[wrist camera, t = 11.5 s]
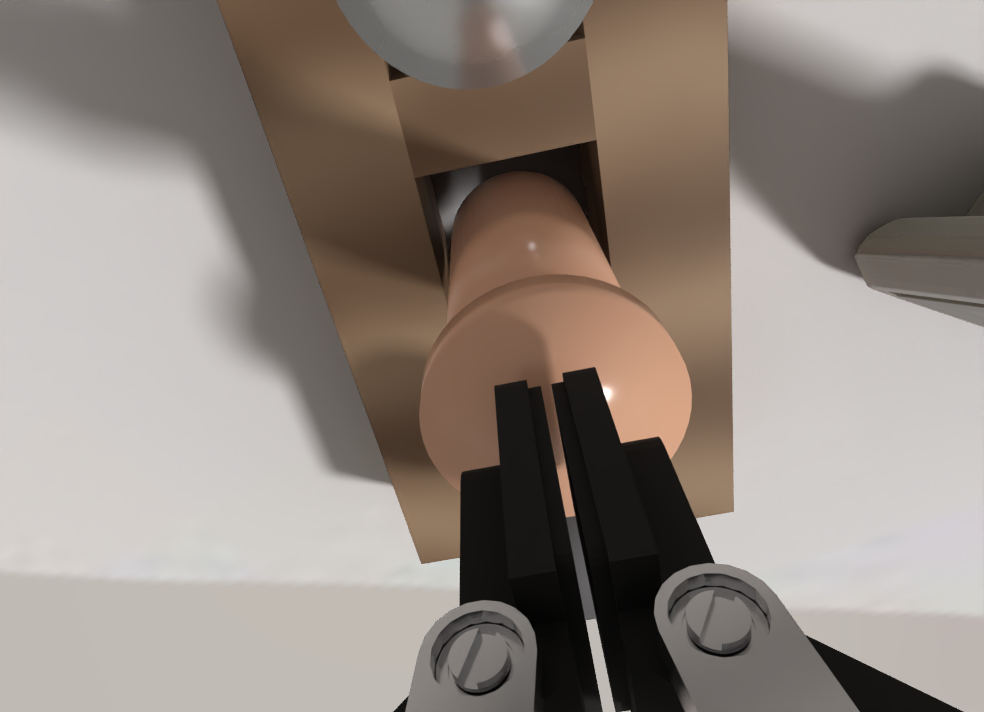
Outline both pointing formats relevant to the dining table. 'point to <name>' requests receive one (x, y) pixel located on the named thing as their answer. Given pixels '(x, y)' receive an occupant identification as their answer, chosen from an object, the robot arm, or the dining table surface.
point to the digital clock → (930, 262)
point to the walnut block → (492, 137)
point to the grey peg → (465, 36)
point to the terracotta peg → (540, 329)
